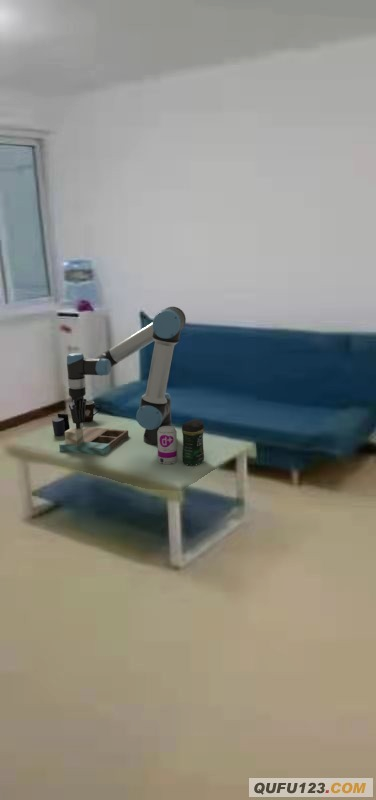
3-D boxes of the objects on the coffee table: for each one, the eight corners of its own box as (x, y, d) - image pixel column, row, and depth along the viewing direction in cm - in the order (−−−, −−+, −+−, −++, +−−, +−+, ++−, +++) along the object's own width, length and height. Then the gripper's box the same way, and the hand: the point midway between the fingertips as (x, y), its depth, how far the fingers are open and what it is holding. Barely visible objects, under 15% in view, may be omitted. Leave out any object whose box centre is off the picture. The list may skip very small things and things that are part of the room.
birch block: (83, 441, 289) (82, 428, 287) (77, 445, 283) (76, 432, 282) (71, 440, 291) (71, 427, 289) (65, 444, 285) (64, 431, 284)
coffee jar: (195, 467, 262) (194, 425, 258) (179, 464, 267) (178, 422, 262) (207, 460, 270) (206, 419, 265) (192, 457, 274) (191, 416, 270)
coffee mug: (76, 422, 328) (75, 404, 326) (81, 418, 337) (80, 400, 334) (97, 423, 326) (96, 405, 324) (102, 419, 335) (101, 400, 332)
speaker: (62, 430, 315) (60, 411, 311) (70, 432, 312) (68, 413, 308) (51, 436, 309) (49, 416, 305) (59, 438, 306) (57, 418, 302)
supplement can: (175, 465, 265) (174, 431, 261) (156, 464, 267) (155, 430, 263) (178, 458, 273) (178, 425, 269) (160, 457, 274) (159, 425, 271)
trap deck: (128, 436, 305) (128, 430, 304) (103, 455, 279) (103, 448, 278) (87, 432, 312) (87, 427, 311) (59, 450, 286) (59, 444, 285)
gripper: (76, 383, 292) (79, 431, 299) (62, 389, 281) (65, 439, 287) (90, 384, 290) (93, 432, 296) (77, 391, 278) (80, 441, 284)
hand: (79, 436), depth 291 cm, fingers closed
